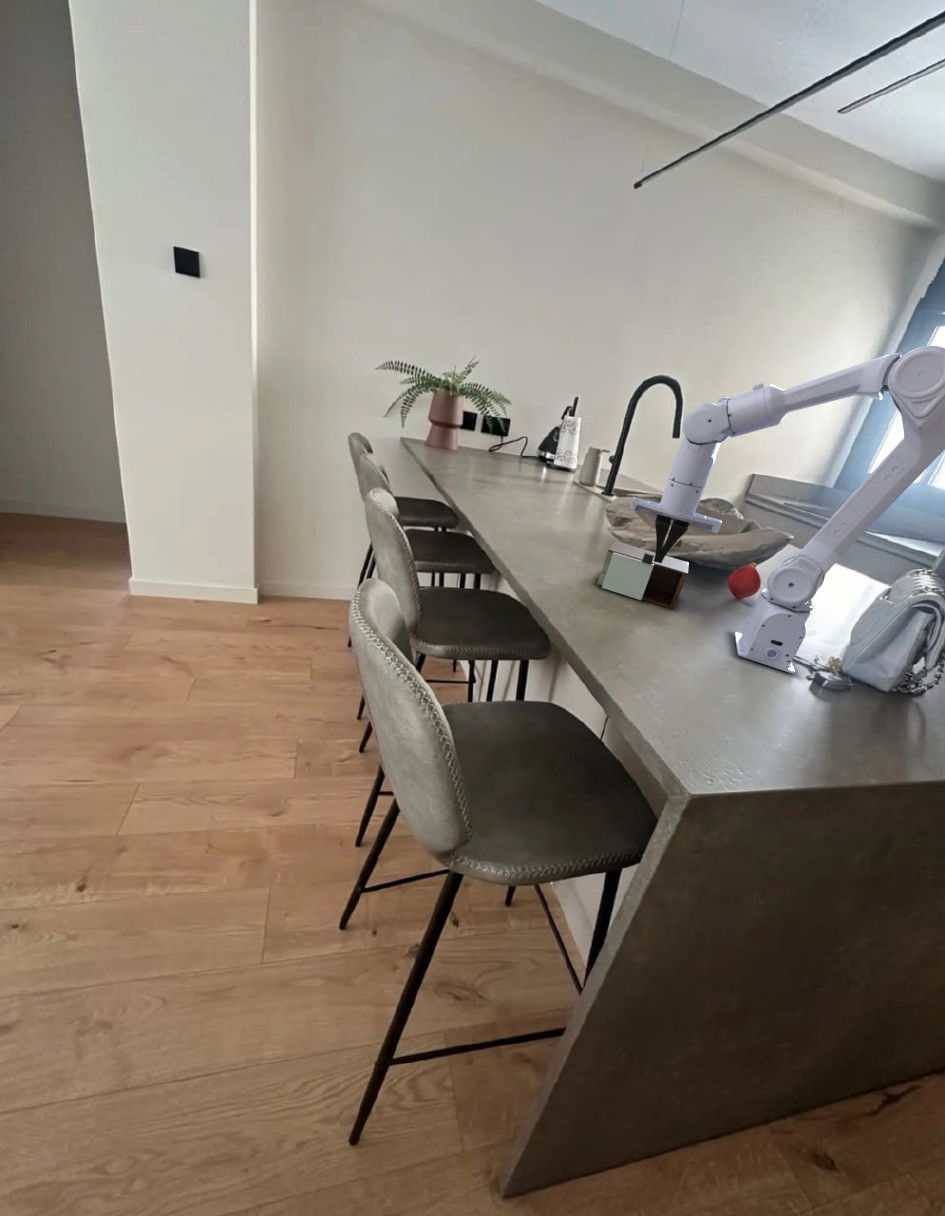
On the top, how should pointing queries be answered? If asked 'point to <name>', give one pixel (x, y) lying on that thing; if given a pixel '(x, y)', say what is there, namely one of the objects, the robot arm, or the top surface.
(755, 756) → the top surface
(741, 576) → the onion
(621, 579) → the sliding door
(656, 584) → the cabinet
